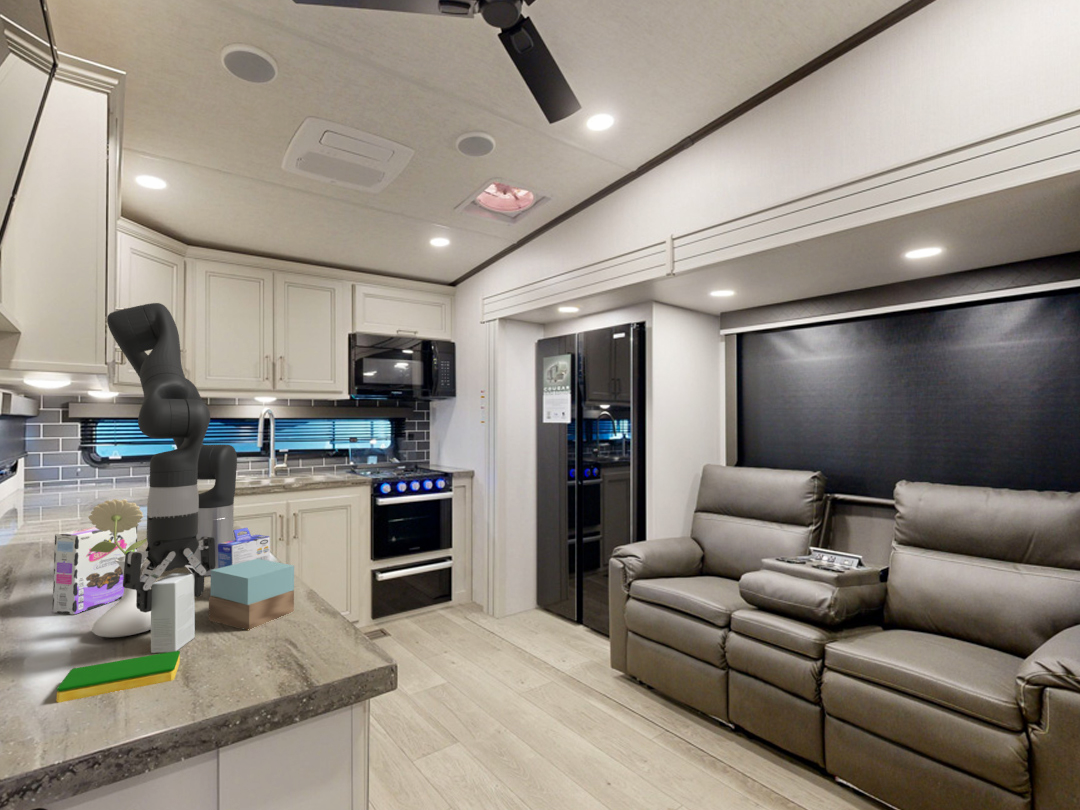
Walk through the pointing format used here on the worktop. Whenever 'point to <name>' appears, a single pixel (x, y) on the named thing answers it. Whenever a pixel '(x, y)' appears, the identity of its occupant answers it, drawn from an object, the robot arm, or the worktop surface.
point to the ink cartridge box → (243, 549)
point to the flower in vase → (124, 613)
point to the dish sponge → (118, 676)
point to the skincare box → (172, 612)
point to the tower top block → (252, 581)
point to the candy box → (88, 569)
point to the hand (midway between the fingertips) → (171, 603)
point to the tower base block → (250, 610)
